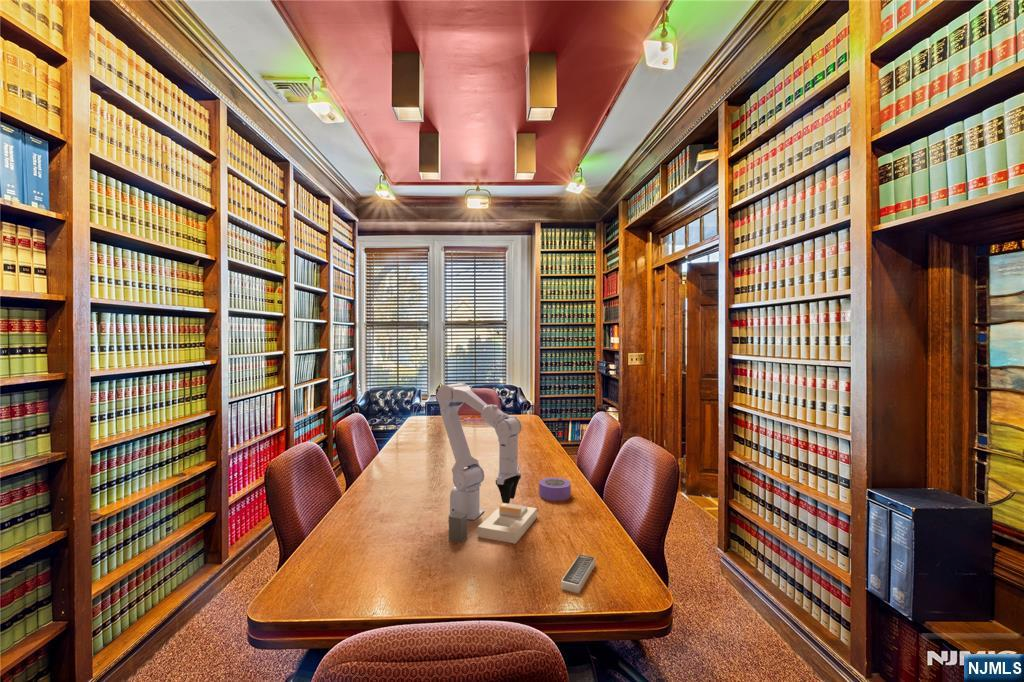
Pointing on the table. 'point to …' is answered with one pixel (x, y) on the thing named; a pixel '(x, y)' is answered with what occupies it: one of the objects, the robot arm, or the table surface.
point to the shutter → (512, 510)
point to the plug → (458, 526)
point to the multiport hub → (578, 573)
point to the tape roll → (554, 489)
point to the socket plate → (506, 526)
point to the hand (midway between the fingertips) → (508, 500)
